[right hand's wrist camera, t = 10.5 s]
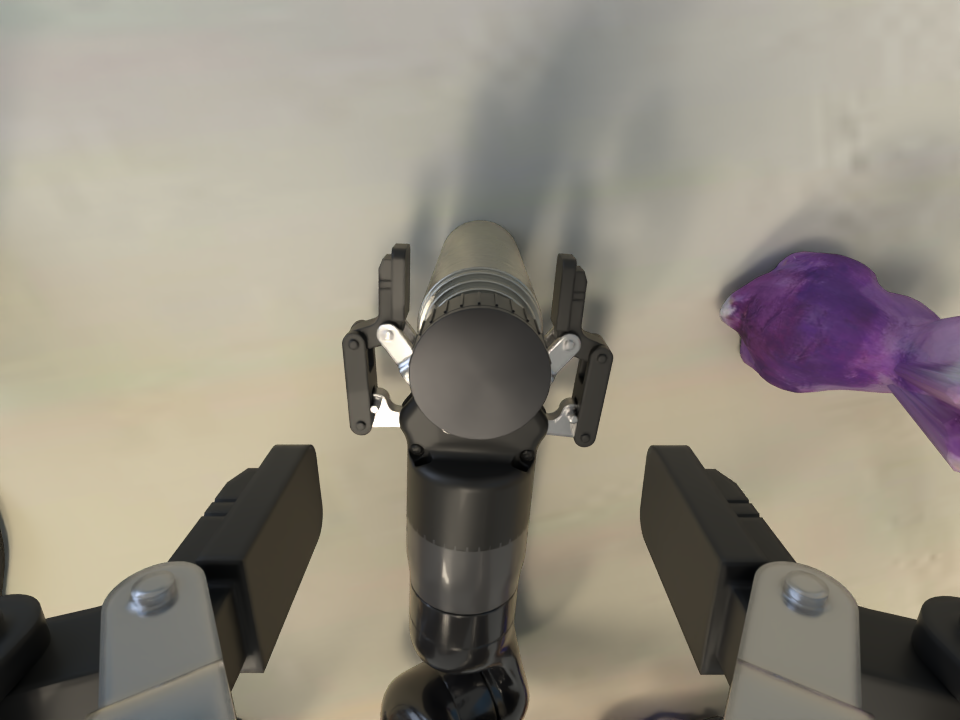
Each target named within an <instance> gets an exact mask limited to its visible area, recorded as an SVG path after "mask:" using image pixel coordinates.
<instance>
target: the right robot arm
mask: <svg viewBox="0 0 960 720" xmlns="http://www.w3.org/2000/svg"><path fill="white" fill-rule="evenodd" d="M322 518H323V508H322V499H321V491H320V483H319V474H318V466H317V458H316V452H315V449H314V447H313V446H312V445H275V446H274V447H273V448H272V449H271V451H270V452H269V454H268V455H267V456H266V458H265V459H264V461H263V462H262V464H261V465H260V467H259V468H248V469H246V470H245V471H243V472H242V473H240V474H239V475H237V476H236V477H235V478H233V479H232V480H230V481H229V482H227V483H226V485H225V486H224V487H223V489H222V490H221V491H220V493H219V494H218V495H217V497H216V498H215V502H212V503H211V505H210V506H209V507H208V509H207V510H206V511H205V514H204V516H202V517H201V518H200V519H199V521H198V522H197V523H196V525H195V526H194V527H193V529H192V530H191V531H190V533H189V534H188V535H187V537H186V538H185V539H184V541H183V542H182V543H181V545H180V546H179V547H178V549H177V550H176V551H175V553H174V554H173V555H172V557H171V558H170V559H169V561H168V562H166V563H161V564H157V565H153V566H150V567H148V568H145V569H143V570H141V571H138V572H136V573H135V574H133V575H131V576H129V577H128V578H126V579H125V580H123V581H122V582H121V583H119V584H118V585H117V586H116V587H115V588H114V589H113V590H112V591H111V592H110V593H109V594H108V596H107V597H106V599H105V600H104V603H103V605H102V606H99V607H95V608H91V609H86V610H82V611H77V612H73V613H69V614H64V615H60V616H55V617H51V618H47V619H45V617H44V614H43V611H42V608H41V606H40V603H39V602H38V600H37V599H35V598H34V597H32V596H28V595H22V594H11V595H4V596H2V587H3V578H4V566H5V555H4V545H3V539H2V534H1V530H0V720H237V717H236V712H235V707H234V703H233V698H232V694H231V691H232V689H233V687H234V684H235V682H236V680H237V678H238V676H239V673H264V671H265V668H266V666H267V663H268V661H269V658H270V656H271V654H272V651H273V649H274V646H275V644H276V641H277V639H278V636H279V634H280V632H281V629H282V627H283V624H284V622H285V619H286V617H287V615H288V612H289V610H290V607H291V605H292V602H293V600H294V598H295V595H296V593H297V590H298V588H299V585H300V583H301V581H302V578H303V576H304V573H305V571H306V568H307V566H308V563H309V561H310V559H311V556H312V554H313V551H314V549H315V546H316V544H317V542H318V539H319V536H320V533H321V527H322ZM640 522H641V530H642V534H643V538H644V540H645V543H646V545H647V548H648V550H649V552H650V555H651V557H652V560H653V562H654V564H655V567H656V569H657V572H658V574H659V576H660V579H661V581H662V584H663V586H664V588H665V591H666V593H667V596H668V598H669V600H670V603H671V605H672V608H673V610H674V612H675V615H676V617H677V620H678V622H679V624H680V627H681V629H682V632H683V634H684V636H685V639H686V641H687V644H688V646H689V648H690V651H691V653H692V656H693V658H694V660H695V663H696V665H697V668H698V670H699V672H700V675H725V677H726V679H727V681H728V683H729V685H730V689H729V694H728V698H727V703H726V707H725V712H724V717H723V720H960V598H959V597H952V596H939V597H933V598H930V599H928V600H927V601H925V602H924V604H923V605H922V608H921V610H920V613H919V616H918V619H917V620H915V619H911V618H906V617H902V616H898V615H893V614H889V613H884V612H880V611H876V610H871V609H867V608H864V607H860V606H858V605H857V603H856V600H855V599H854V597H853V596H852V594H851V593H850V592H849V591H848V590H847V589H846V588H845V587H844V586H843V585H842V584H841V583H839V582H838V581H837V580H835V579H834V578H832V577H831V576H829V575H827V574H825V573H824V572H822V571H819V570H817V569H815V568H812V567H810V566H807V565H803V564H799V563H796V562H795V560H794V559H793V558H792V556H791V555H790V554H789V552H788V551H787V550H786V548H785V547H784V546H783V544H782V543H781V542H780V540H779V539H778V538H777V537H776V535H775V534H774V533H773V531H772V530H771V529H770V527H769V526H768V525H767V523H766V522H765V521H764V519H763V518H760V517H759V513H758V512H757V510H756V509H755V508H754V506H753V505H752V504H751V503H749V500H748V498H747V497H746V496H745V494H744V493H743V492H742V490H741V489H740V488H739V486H738V485H737V484H736V483H735V482H733V481H732V480H730V479H729V478H727V477H726V476H725V475H723V474H722V473H720V472H719V471H717V470H716V469H705V468H704V467H703V466H702V464H701V463H700V461H699V460H698V458H697V457H696V456H695V454H694V453H693V451H692V450H691V448H690V447H689V446H686V445H652V446H650V447H649V449H648V452H647V457H646V465H645V474H644V482H643V490H642V498H641V506H640Z"/></svg>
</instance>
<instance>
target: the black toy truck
mask: <svg viewBox="0 0 960 720" xmlns="http://www.w3.org/2000/svg"><path fill="white" fill-rule="evenodd" d="M705 720H723V717H720V716H716V717H712V718H708V719H705Z"/></svg>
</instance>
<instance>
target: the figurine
mask: <svg viewBox="0 0 960 720" xmlns="http://www.w3.org/2000/svg"><path fill="white" fill-rule="evenodd" d="M720 318H721V320H722V321H723V322H724V323H726V324H727V325H728V326H730V327H731V328H733V329H734V330H736V331H737V332H738V333H739V335H740V336H741V347H740V355H741V358H742V359H743V361H744V362H745V363H746V364H747V365H749V366H750V367H752V368H753V369H754V370H755V371H757V372H758V373H759V375H760V376H761V377H762V378H764V379H765V380H766V381H767V382H768V383H770V384H772V385H774V386H776V387H778V388H781V389H783V390H787V391H791V392H796V393H805V392H818V391H825V390H856V391H867V392H879V393H893V394H894V396H895V397H896V398H897V399H898V401H899V402H900V403H901V404H902V406H903V407H904V408H905V409H906V411H907V412H908V413H909V415H910V416H911V417H912V418H913V420H914V421H915V422H916V423H917V425H918V426H919V427H920V428H921V430H922V431H923V432H924V433H925V435H926V436H927V437H928V439H929V440H930V441H931V442H932V444H933V445H934V446H935V447H936V449H937V450H938V451H939V452H940V454H941V455H942V456H943V457H944V459H945V460H946V461H947V463H948V464H949V465H950V466H951V468H952V469H953V470H954V471H956V472H960V316H957V317H951V318H945V319H940V318H939V317H938V316H937V315H936V314H935V313H934V312H933V311H931V310H930V309H929V308H928V307H926V306H925V305H924V304H922V303H921V302H919V301H917V300H915V299H913V298H911V297H908V296H904V295H900V294H895V293H891V292H887V291H886V290H885V289H883V288H882V287H881V286H880V285H879V283H878V281H877V278H876V275H875V273H874V272H873V271H872V270H871V269H870V268H868V267H867V266H865V265H864V264H862V263H860V262H858V261H856V260H854V259H851V258H848V257H845V256H842V255H838V254H829V253H815V252H806V251H802V252H797V253H793V254H791V255H789V256H788V257H786V258H785V259H784V260H782V261H781V262H780V263H779V264H778V265H777V267H776V268H775V269H774V270H772V271H771V272H769V273H766V274H764V275H762V276H759V277H757V278H756V279H754V280H753V281H751V282H749V283H748V284H746V285H745V286H743V287H741V288H740V289H738V290H737V291H735V292H734V293H732V294H731V295H730V296H729V297H728V298H727V300H726V301H725V302H724V304H723V306H722V308H721V310H720Z"/></svg>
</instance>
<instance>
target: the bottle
mask: <svg viewBox="0 0 960 720" xmlns="http://www.w3.org/2000/svg"><path fill="white" fill-rule="evenodd" d="M478 291H480V292H481V293H489V294H495V293H497V295H499V296H502V297H505V298H507V299H509V300H510V298H511V299H513V302H515V303H517V304H518V305H520V306H521V307H522V308H524V307H525V308H526V310H527V312H528V313H529V314H530V316H531V317H532V318H533V319H536V320H537V323H538V326H539V329H540V331H541V333H542V331H543V320H542V314H541V310H540V307H539V304H538V302H537V299H536V296H535V293H534V291H533V288H532V285H531V283H530V280H529V277H528V275H527V272H526V269H525V266H524V264H523V261H522V258H521V256H520V253H519V250H518V247H517V245H516V243H515V241H514V239H513V238H512V236H511V235H510V234H509V233H508V232H507V231H506V230H505V229H504V228H503V227H501V226H499V225H497V224H496V223H493V222H489V221H483V220H477V221H471V222H467V223H464V224H463V225H461V226H459V227H457V228H456V229H455V230H454V231H453V232H452V233H451V234H450V235H449V236H448V238H447V239H446V241H445V243H444V245H443V247H442V250H441V253H440V256H439V258H438V261H437V264H436V266H435V269H434V272H433V275H432V277H431V280H430V283H429V285H428V288H427V291H426V294H425V296H424V299H423V302H422V304H421V307H420V311H419V314H418V321H417V331H418V334H419V331H420V328H421V325H422V322H423V320H424V321H426V319H427V318H428V317H429V316H430V314H431V313H432V310H433V309H434V308H435V309H437V308H438V307H439V306H440V305H442V304H444V303H445V302H446V300H447V299H448V300H451V299H453V298H455V297H458V296H461V294H463V293H464V295H466V294H471V293H478Z"/></svg>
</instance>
